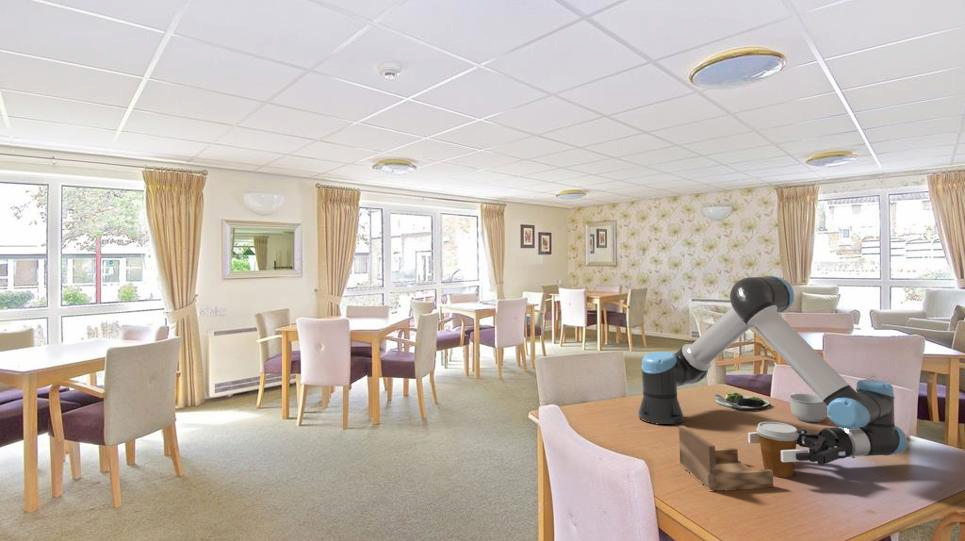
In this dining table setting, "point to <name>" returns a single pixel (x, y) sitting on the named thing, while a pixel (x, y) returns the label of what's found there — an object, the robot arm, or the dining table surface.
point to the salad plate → (742, 402)
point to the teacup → (808, 407)
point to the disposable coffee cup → (777, 446)
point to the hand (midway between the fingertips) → (764, 446)
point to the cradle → (718, 465)
